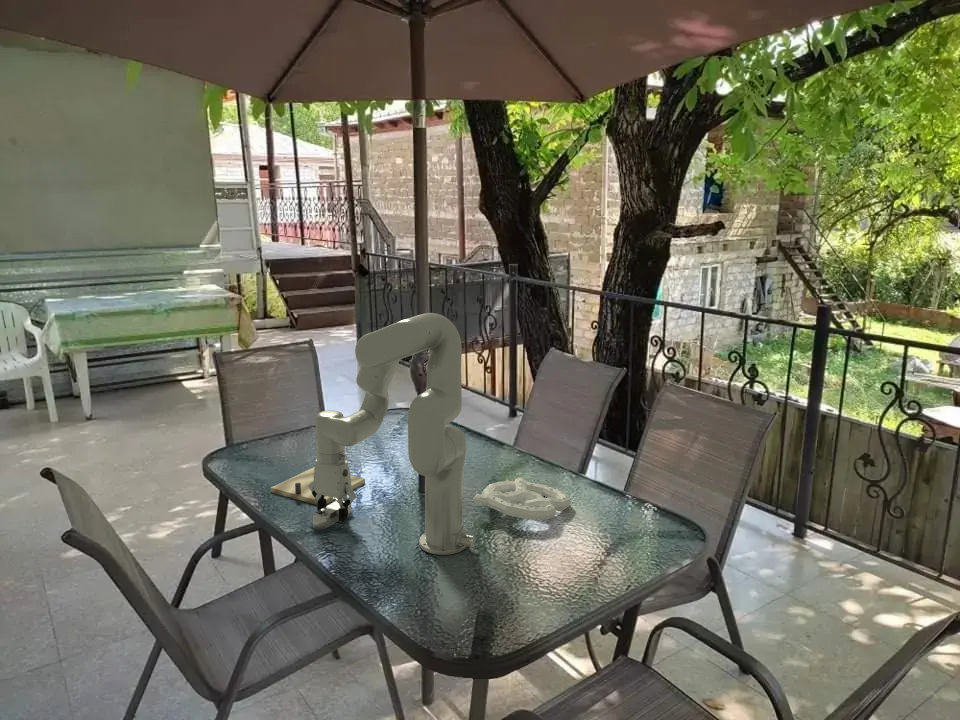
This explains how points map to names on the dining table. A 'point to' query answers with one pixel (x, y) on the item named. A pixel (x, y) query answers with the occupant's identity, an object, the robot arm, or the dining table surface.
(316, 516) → the grey capsule bar
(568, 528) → the dining table surface
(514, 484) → the pretzel
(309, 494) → the board
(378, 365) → the robot arm
